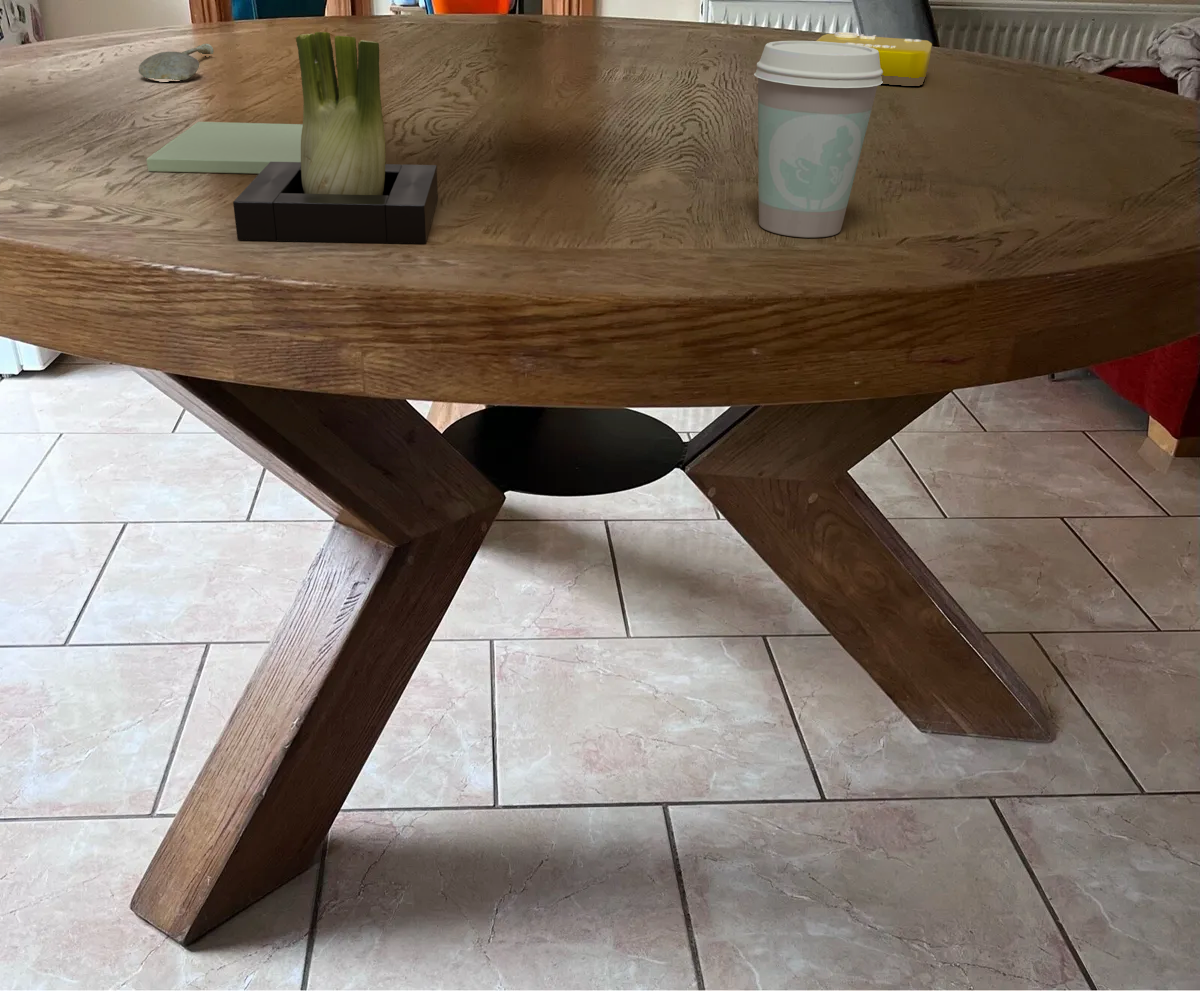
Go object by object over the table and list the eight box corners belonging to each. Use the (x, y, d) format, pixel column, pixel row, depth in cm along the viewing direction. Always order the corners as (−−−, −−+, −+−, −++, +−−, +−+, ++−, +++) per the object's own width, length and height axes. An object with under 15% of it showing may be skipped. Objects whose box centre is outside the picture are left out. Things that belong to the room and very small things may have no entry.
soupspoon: (132, 88, 126) (192, 92, 126) (128, 56, 124) (189, 61, 125) (182, 55, 145) (234, 59, 145) (179, 27, 143) (232, 31, 144)
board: (147, 171, 88) (145, 158, 87) (199, 132, 102) (197, 121, 101) (354, 176, 89) (353, 163, 88) (377, 137, 103) (376, 126, 102)
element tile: (805, 79, 147) (809, 40, 144) (819, 66, 159) (823, 29, 157) (922, 88, 143) (929, 48, 141) (927, 73, 156) (933, 36, 153)
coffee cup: (730, 235, 77) (747, 49, 71) (749, 207, 84) (766, 36, 79) (856, 249, 75) (884, 59, 70) (864, 219, 83) (890, 44, 77)
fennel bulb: (398, 221, 77) (389, 34, 72) (337, 233, 74) (322, 38, 69) (352, 204, 81) (340, 25, 75) (291, 214, 78) (273, 29, 72)
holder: (237, 240, 72) (232, 201, 71) (273, 195, 82) (269, 161, 81) (425, 244, 73) (424, 205, 72) (437, 199, 83) (436, 165, 82)
